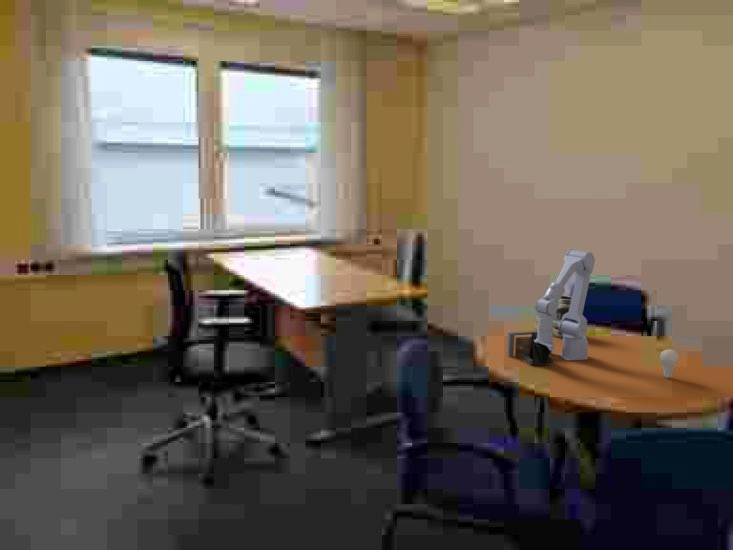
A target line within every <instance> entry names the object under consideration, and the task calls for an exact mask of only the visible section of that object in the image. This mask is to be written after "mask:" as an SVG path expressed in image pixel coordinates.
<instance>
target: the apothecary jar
mask: <svg viewBox="0 0 733 550" xmlns="http://www.w3.org/2000/svg"><path fill="white" fill-rule="evenodd" d="M571 299H572V295H570V296H569V295H562V296H561V298H560V299H559V301H558V302H559V303H558V308H557V311H556V313H555V314H554V316H553V329H555V330H557V331H555V332H554V331H553V336H552V337H554V336H555V338H557V337H559V339H563V335H562V333H561V332H560V330H559V324H560V322H561V320H562V317H563V315H564V314H566V313H568V312H569V308H570V304H571ZM571 320H573V319H571ZM573 321H576V320H573Z"/></svg>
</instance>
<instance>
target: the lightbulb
mask: <svg viewBox="0 0 733 550" xmlns="http://www.w3.org/2000/svg"><path fill="white" fill-rule="evenodd" d="M659 360H660V363H661V364H662V368H663V376H664V378H666V379H669V378H671V377H672V374H673V371H674V368H675V366H676V365H677V363H678V361H679V355H678V353H677V352H676V351H675V350H673V349H669V348H668V349H665V350H662V351H661V353H660V355H659Z"/></svg>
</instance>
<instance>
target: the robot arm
mask: <svg viewBox="0 0 733 550" xmlns="http://www.w3.org/2000/svg"><path fill="white" fill-rule="evenodd" d="M563 261H564V265H563V266H562V268H561V271H560V273H559V274H558V276H557V279H556V280H555V282H551V284H550V285H549V286H548V288H547V290H546V292H545V293H544V295H543V297H542V298H539V299H538V300H537V301H536V302H535V306H534V308H535V311H536V316H537V338H536V340H534V342H535V343H539V344H536V348H537V350H538V353H539V358H540V362H541V363H546V362H547V360H548V357H549V356H550V355H551V354H550V352H551V351H556V345H555V344H554V340H553V336H552V334H553V333H554V331H553V329H554V328H553V316H554V314H555V313H556V311H557V308H558V303H559V302H558V301H559V299H560V298H561V296H563V294H564V293H565V285H566V284H567V282H568V281H569V279H570V278H572V276H573V274H574V273H575V274H576V277H575V281H574V286H573V290H572V294H571V297H572V299H571V304H570V308H569V312H568V313H566V314H564V315H563V317H562V320H561V322H560V324H559V330H560V332H561V333H562V335H563V338H562V350H561V353H557V355H558V356H559V357H561V358H562V359H563V360H565V361H581V360H582V361H583V360H585V361H586V360H589V357H588V349H589V341H588V338H587V336H586V335H587V331H588V325H587V324H588V319H587V317H585V316H584V314H583V313H584V307H585V304H586V303H585V302H586V298H587V294H588V290H589V285H590V284H589V283H590V280H591V276H592V273H593V270H594V266H595V261H596V258H595V256H594V254H593V252H591V251H583V250H577V249H569V250H567V252H566V254H565V256H564V257H563ZM571 319H573V320H576V321H573V320H571ZM559 330H558V331H559Z"/></svg>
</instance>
